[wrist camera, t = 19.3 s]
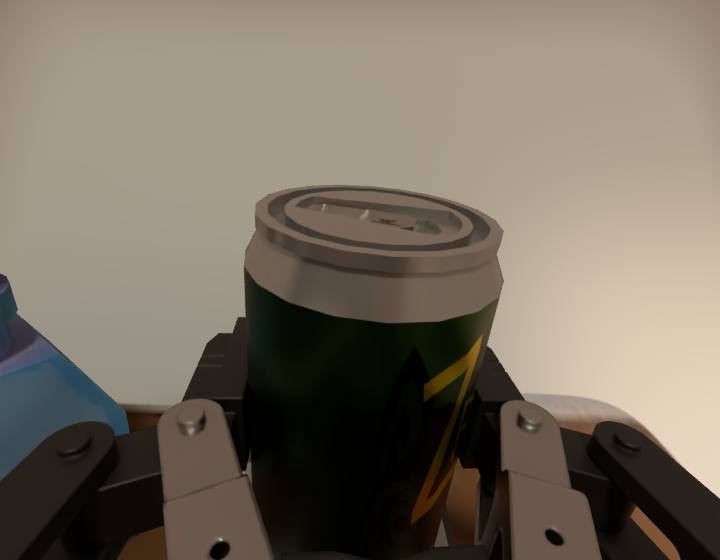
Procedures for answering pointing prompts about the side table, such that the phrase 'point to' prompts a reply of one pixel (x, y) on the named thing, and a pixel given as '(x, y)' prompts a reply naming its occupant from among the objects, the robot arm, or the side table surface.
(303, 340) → the beer can
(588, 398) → the side table surface
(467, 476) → the side table surface
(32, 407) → the perfume bottle
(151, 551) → the side table surface
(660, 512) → the robot arm
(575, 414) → the side table surface
